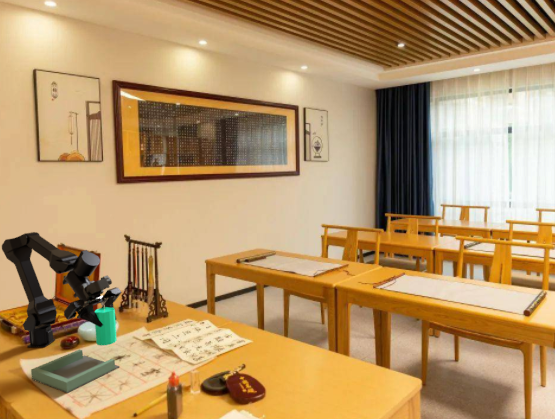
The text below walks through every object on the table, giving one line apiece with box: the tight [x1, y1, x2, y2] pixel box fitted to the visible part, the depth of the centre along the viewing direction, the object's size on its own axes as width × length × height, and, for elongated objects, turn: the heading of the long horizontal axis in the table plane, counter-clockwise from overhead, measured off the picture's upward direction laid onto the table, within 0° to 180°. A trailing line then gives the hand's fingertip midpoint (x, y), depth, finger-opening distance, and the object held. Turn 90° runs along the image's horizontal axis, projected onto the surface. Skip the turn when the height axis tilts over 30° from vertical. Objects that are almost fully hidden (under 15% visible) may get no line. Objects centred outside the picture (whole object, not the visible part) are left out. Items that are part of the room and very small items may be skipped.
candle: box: [94, 305, 118, 347], centre depth 137 cm, size 6×6×12 cm
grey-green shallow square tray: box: [30, 349, 120, 394], centre depth 128 cm, size 17×17×3 cm
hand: (108, 323), depth 136 cm, fingers closed on candle, 5 cm apart
